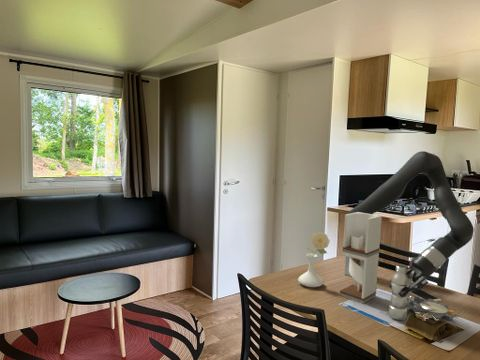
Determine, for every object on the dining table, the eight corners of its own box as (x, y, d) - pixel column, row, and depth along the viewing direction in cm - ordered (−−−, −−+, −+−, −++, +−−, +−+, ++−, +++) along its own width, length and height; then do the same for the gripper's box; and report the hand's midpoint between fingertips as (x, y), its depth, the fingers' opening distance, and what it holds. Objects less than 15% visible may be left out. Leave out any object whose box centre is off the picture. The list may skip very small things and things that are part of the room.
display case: (352, 288, 158) (358, 212, 155) (375, 296, 151) (381, 216, 148) (339, 295, 150) (345, 214, 147) (363, 303, 143) (369, 219, 140)
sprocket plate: (401, 315, 134) (402, 303, 134) (399, 296, 151) (399, 286, 151) (458, 325, 127) (459, 314, 127) (449, 305, 144) (450, 294, 144)
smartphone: (414, 286, 163) (442, 300, 149) (414, 287, 163) (442, 301, 149) (401, 287, 161) (428, 301, 147) (401, 289, 161) (428, 303, 147)
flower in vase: (295, 286, 158) (298, 232, 155) (300, 278, 168) (303, 227, 166) (324, 292, 153) (328, 235, 151) (328, 283, 163) (331, 230, 161)
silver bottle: (405, 316, 133) (410, 264, 132) (408, 324, 127) (412, 270, 125) (387, 312, 135) (391, 262, 134) (388, 320, 129) (392, 267, 127)
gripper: (411, 248, 136) (379, 277, 137) (434, 260, 122) (398, 292, 122) (423, 262, 137) (392, 290, 138) (447, 275, 123) (412, 307, 123)
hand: (395, 291), depth 130 cm, fingers closed on silver bottle, 6 cm apart
